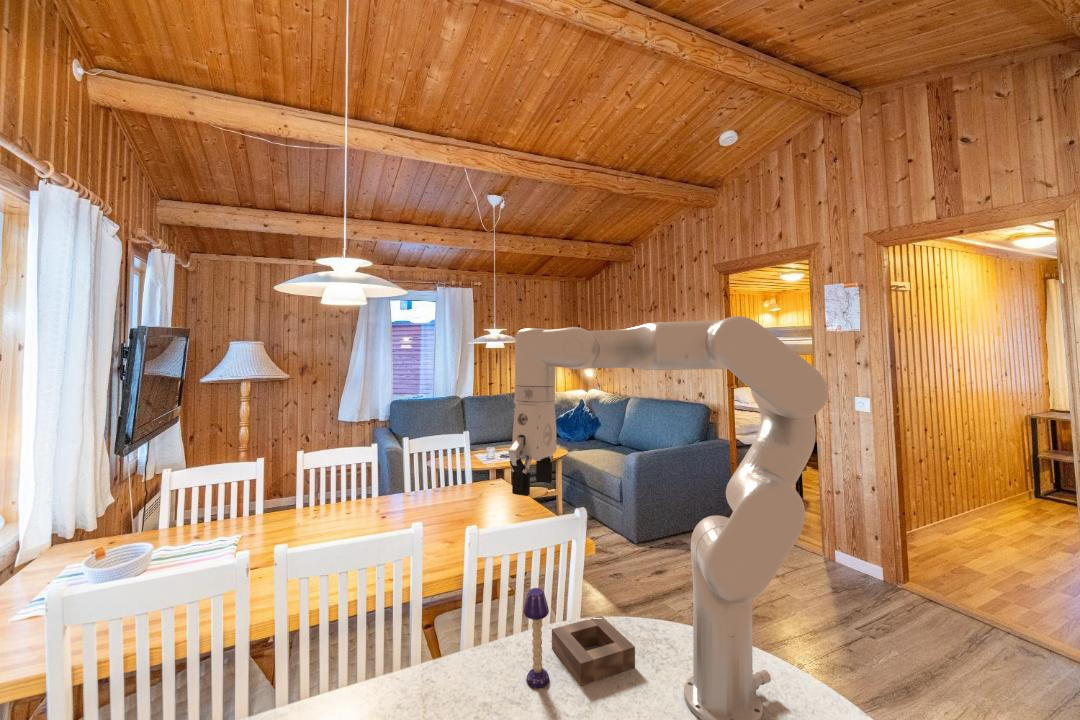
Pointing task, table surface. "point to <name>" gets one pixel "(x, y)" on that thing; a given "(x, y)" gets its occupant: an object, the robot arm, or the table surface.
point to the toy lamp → (536, 635)
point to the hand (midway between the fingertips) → (533, 488)
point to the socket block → (597, 662)
